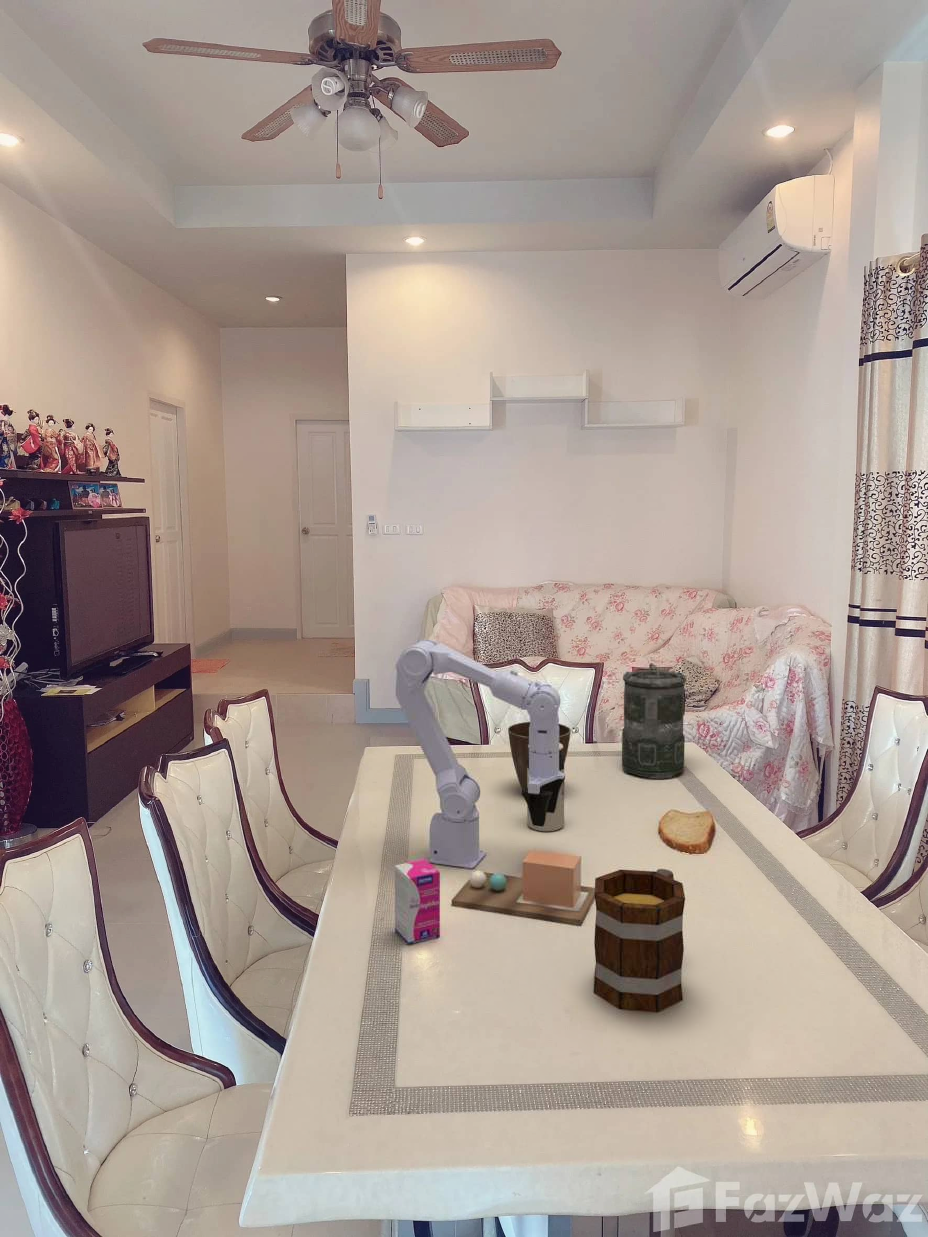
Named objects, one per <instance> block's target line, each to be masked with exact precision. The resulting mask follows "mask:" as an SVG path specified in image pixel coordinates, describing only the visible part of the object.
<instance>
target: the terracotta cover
mask: <svg viewBox="0 0 928 1237" xmlns="http://www.w3.org/2000/svg"><path fill="white" fill-rule="evenodd" d="M522 878H523V900H525V901H531V902H538V903H545V904H551V905H558V906H565V907H571V908H574V906H575V904H576V902H577V900H578V898H579V897H580V895H581V886H582V856H581V855H574V854H566V853H560V852H552V851H545V850H544V851H543V850H536V849H531V850H530V851H529V853H528V854H527V855H526V856H525V858H524V859H523V861H522Z"/></svg>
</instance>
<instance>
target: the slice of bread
mask: <svg viewBox="0 0 928 1237" xmlns="http://www.w3.org/2000/svg"><path fill="white" fill-rule="evenodd" d="M714 820H715V819H714V818H713V815H712V813H711V812H710V811H709V810H708V811H698V812H692V813H688V812H683V811H679V810H677V809H676V810H675V809H671V810H668V811H667V812H666V813H665V814H664V815H662V816H661V818H660V820H659V822H658V828H657V833H658V834H659V839H660V840H661V842H663V843H665V844H666V845H665V844H664V845H665V846H666V847H668V846H669V847H668V848H670V849H672V850H674V851H676V850H677V851H676V852H679V851H680V852H679V853H682V852H685V853H689V854H688V855H691V854H704V853H706V852H707V853H708V851H709V850H710V849H711V846H712V843H713V839H714V837H715V836H714V835H715V832H716V831H715V830H716V823H715V821H714ZM709 848H710V849H709ZM685 853H684V854H685ZM707 853H706V854H707ZM704 855H705V854H704Z"/></svg>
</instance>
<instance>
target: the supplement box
mask: <svg viewBox="0 0 928 1237" xmlns="http://www.w3.org/2000/svg"><path fill="white" fill-rule="evenodd" d="M440 913H441V872H440V871H439V870H438V869H437V868H436V867H434V865H432V863H430V862H428V860H427V859H421V860H416V861H415V860H414V861H411V862H407V863H406V862H405V863H401V864H396V865H394V932H396V933H397V935H398V936H399V937H401V938H400V939H402V940H403V941H404V943H405V944H406V945H408V946H409V945H413V944H416V943H420V942H424V941H428V940H432V939H438V938H440V937H441V914H440Z"/></svg>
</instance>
